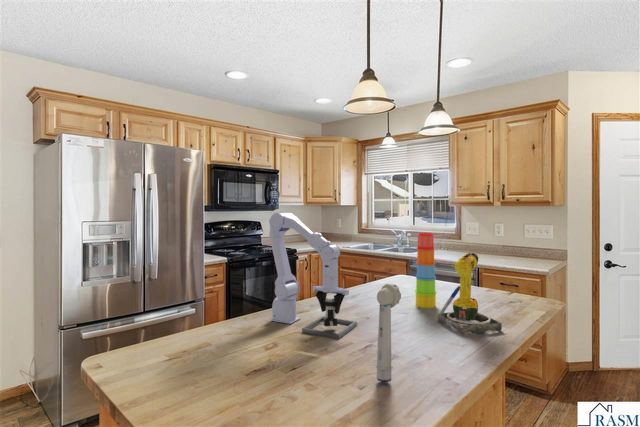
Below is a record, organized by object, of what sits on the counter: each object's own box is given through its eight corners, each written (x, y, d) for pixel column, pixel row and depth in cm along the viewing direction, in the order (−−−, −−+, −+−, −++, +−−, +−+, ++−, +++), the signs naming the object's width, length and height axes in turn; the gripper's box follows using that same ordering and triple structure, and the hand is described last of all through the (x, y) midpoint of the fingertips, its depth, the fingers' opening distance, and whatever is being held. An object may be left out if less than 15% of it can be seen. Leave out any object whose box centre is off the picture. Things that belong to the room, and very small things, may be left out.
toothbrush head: (371, 378, 96) (371, 285, 96) (386, 370, 101) (386, 281, 101) (387, 385, 92) (387, 288, 92) (402, 376, 97) (402, 284, 97)
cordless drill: (507, 331, 133) (506, 256, 133) (462, 335, 129) (461, 258, 129) (474, 317, 151) (474, 252, 151) (434, 321, 146) (433, 253, 147)
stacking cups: (441, 308, 166) (441, 233, 165) (427, 311, 160) (427, 234, 160) (424, 303, 174) (424, 232, 174) (409, 306, 168) (409, 232, 168)
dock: (302, 332, 133) (302, 328, 132) (323, 320, 148) (323, 316, 148) (338, 339, 126) (338, 334, 126) (357, 325, 141) (357, 321, 141)
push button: (322, 327, 132) (323, 300, 133) (317, 324, 137) (318, 298, 138) (339, 326, 134) (339, 299, 135) (334, 323, 139) (334, 297, 140)
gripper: (308, 276, 136) (308, 312, 136) (343, 279, 130) (343, 317, 130) (317, 273, 143) (317, 307, 143) (351, 276, 136) (351, 312, 136)
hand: (330, 312), depth 137 cm, fingers closed on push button, 5 cm apart
